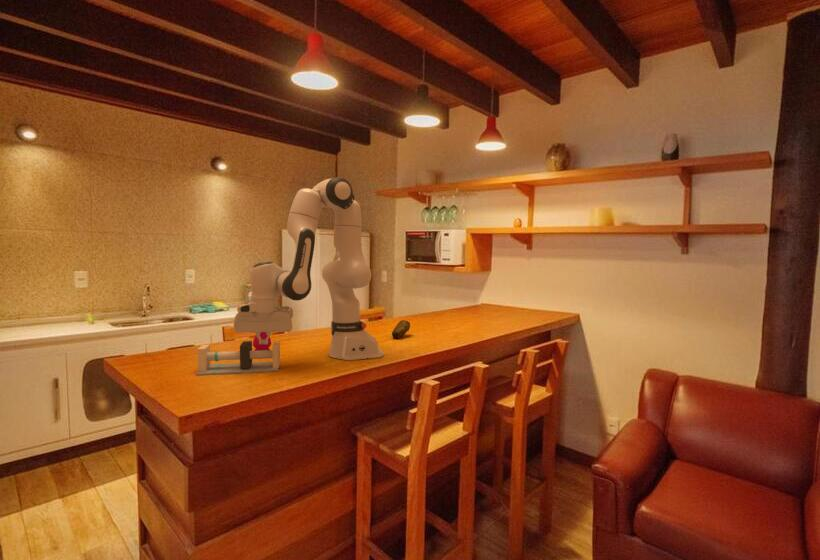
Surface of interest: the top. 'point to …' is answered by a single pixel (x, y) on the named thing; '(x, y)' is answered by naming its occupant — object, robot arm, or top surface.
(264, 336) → the pepper mill
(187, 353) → the top surface
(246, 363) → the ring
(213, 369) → the pipe rig
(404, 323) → the potato
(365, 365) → the top surface
